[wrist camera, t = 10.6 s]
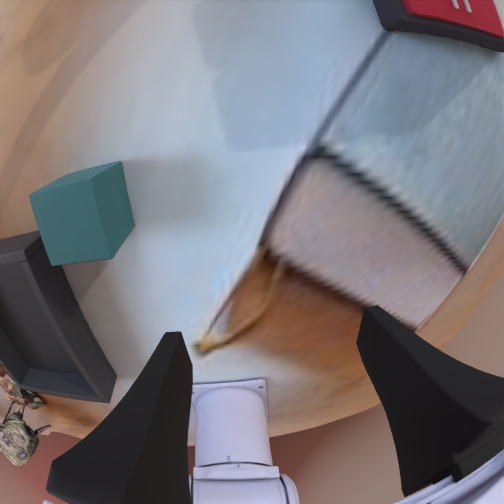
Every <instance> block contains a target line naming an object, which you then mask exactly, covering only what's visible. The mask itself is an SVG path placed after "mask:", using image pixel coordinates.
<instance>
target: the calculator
mask: <svg viewBox="0 0 504 504" xmlns="http://www.w3.org/2000/svg"><path fill="white" fill-rule="evenodd" d="M373 2H374V5H375V7H376V10H377V13H378V16H379V19H380V22H381V25H382V26H383V28H385V29H387V30H394V31H406V32H415V33H423V34H430V35H437V36H443V37H448V38H453V39H458V40H463V41H467V42H471V43H475V44H479V45H480V46H481V47H485V48H488V49H492V50H495V51H498V52H504V0H373Z"/></svg>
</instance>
